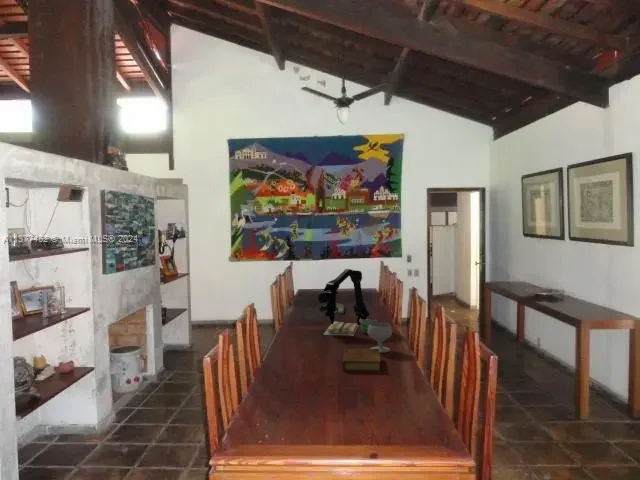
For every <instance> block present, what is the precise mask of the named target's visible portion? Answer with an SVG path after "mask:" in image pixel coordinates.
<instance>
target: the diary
mask: <svg viewBox="0 0 640 480" xmlns="http://www.w3.org/2000/svg"><path fill="white" fill-rule="evenodd" d="M342 357H343V358H342V371H343V372H374V373H375V372H377V373H378V372H379V373H380V372H382V371H381V365H380V364H381V355H380V353H379V349H370V348H347V347H346V348H344V350H343V356H342Z"/></svg>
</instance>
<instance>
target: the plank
mask: <svg viewBox="0 0 640 480" xmlns="http://www.w3.org/2000/svg"><path fill="white" fill-rule="evenodd" d="M344 325H346V323H345V322H342V321H336V320H335V321H334V323H333V324H331V323H330V325H329V326H328V328H327V329H326V330H327V332H332V333H340V331H341V330H342V328H343V327H344Z"/></svg>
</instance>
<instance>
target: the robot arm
mask: <svg viewBox="0 0 640 480" xmlns="http://www.w3.org/2000/svg"><path fill="white" fill-rule="evenodd" d="M362 273H363V272H362V271H360V270H353V269H351V268H345V269H344V270H343V272H341V273H340V274H339V275H337V277H335V278H334V279H331V280H330V281H328V282H326V284H325V287H324V289H323V291H322V292H320V293H319V295H318V297H317V299H318V302H319V303H320V304H324V303H326V304H324V305H320V306H319V307H318V308H319V311H320V313H323V312H325V313H324V314H325V315H324V316H325V317H329V320H330V325H331V324H333V323H334V321H335V322H336V318H337V315H338V314H337V313H335V311H337V312H338V311H339V308H338V307H336V304H338V303H337V295H339V291H338V290H339V288H340V285H341V284H342V283H343V282H344V281H345V280H347V278H350V281H351V282H352V283H353V291H354V297H355V299H354V300H355V304H354V305H353V311H354V314H355V316H356V317H357V318H356V323H357V325H359V326H361V323H360V322H359V320H360V318H361V319H368V318H369V316H370V312H369V310H367V309H368V308H367V307H366V303H365V302H364V301H363V300H364V299H363V292H362V284H361V282H362V280H363V274H362Z"/></svg>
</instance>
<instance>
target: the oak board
mask: <svg viewBox="0 0 640 480" xmlns="http://www.w3.org/2000/svg"><path fill="white" fill-rule="evenodd" d="M344 325H345V326H344V328H343V329H342V331H341V334H353V333H354V331H355V329H356V327H357V325H358V324H357V322H356V323H353V322H352V323H351V322H346V323H345V324H344Z"/></svg>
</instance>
